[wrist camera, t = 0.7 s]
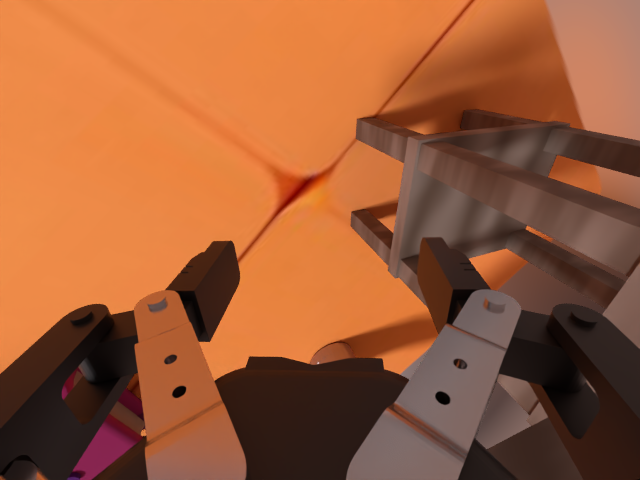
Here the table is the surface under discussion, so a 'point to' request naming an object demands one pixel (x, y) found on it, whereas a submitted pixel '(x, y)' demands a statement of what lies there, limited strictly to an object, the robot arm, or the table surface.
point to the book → (109, 433)
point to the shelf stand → (512, 209)
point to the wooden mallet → (536, 454)
